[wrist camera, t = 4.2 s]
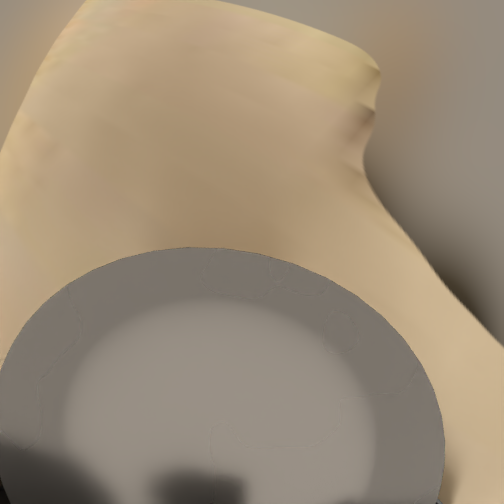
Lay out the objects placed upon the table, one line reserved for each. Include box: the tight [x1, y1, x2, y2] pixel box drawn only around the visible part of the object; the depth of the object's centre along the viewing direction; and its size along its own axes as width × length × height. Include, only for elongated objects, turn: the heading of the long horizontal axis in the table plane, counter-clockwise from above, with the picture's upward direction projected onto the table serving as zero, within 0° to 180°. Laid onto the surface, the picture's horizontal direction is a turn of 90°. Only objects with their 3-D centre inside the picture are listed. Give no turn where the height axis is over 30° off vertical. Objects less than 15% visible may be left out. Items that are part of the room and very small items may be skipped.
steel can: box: [0, 247, 445, 504], centre depth 9 cm, size 7×7×13 cm
